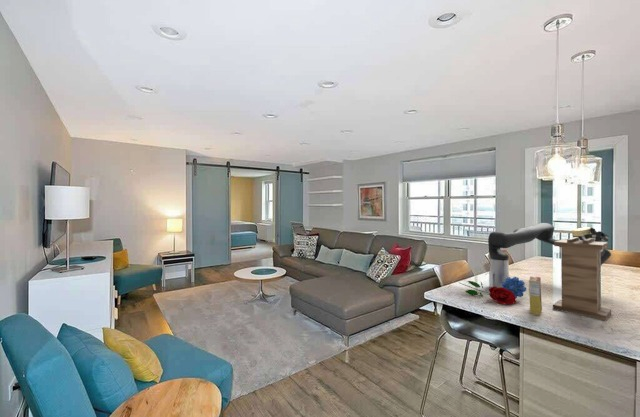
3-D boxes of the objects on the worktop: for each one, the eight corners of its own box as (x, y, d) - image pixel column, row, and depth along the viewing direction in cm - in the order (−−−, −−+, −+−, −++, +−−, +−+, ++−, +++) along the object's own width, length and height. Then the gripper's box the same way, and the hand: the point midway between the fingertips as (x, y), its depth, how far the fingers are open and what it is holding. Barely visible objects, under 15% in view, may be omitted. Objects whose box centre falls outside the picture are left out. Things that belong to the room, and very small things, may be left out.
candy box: (530, 307, 136) (530, 275, 136) (541, 309, 134) (541, 277, 134) (529, 313, 130) (528, 279, 130) (540, 315, 127) (540, 281, 127)
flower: (456, 272, 163) (515, 288, 138) (464, 277, 168) (521, 294, 143) (451, 286, 161) (509, 306, 136) (459, 292, 166) (516, 311, 141)
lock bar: (581, 236, 125) (581, 230, 125) (572, 235, 128) (572, 230, 128) (592, 232, 140) (592, 227, 140) (584, 232, 142) (584, 227, 142)
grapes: (529, 300, 147) (529, 277, 147) (524, 303, 143) (524, 279, 143) (504, 294, 156) (503, 273, 156) (499, 297, 152) (498, 274, 152)
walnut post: (605, 321, 119) (605, 241, 119) (552, 309, 134) (551, 238, 134) (611, 313, 128) (610, 239, 128) (560, 302, 142) (559, 236, 142)
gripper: (575, 236, 154) (568, 221, 145) (612, 238, 143) (607, 222, 134) (574, 249, 152) (566, 234, 143) (611, 252, 141) (606, 237, 132)
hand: (586, 229), depth 138 cm, fingers closed on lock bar, 3 cm apart
